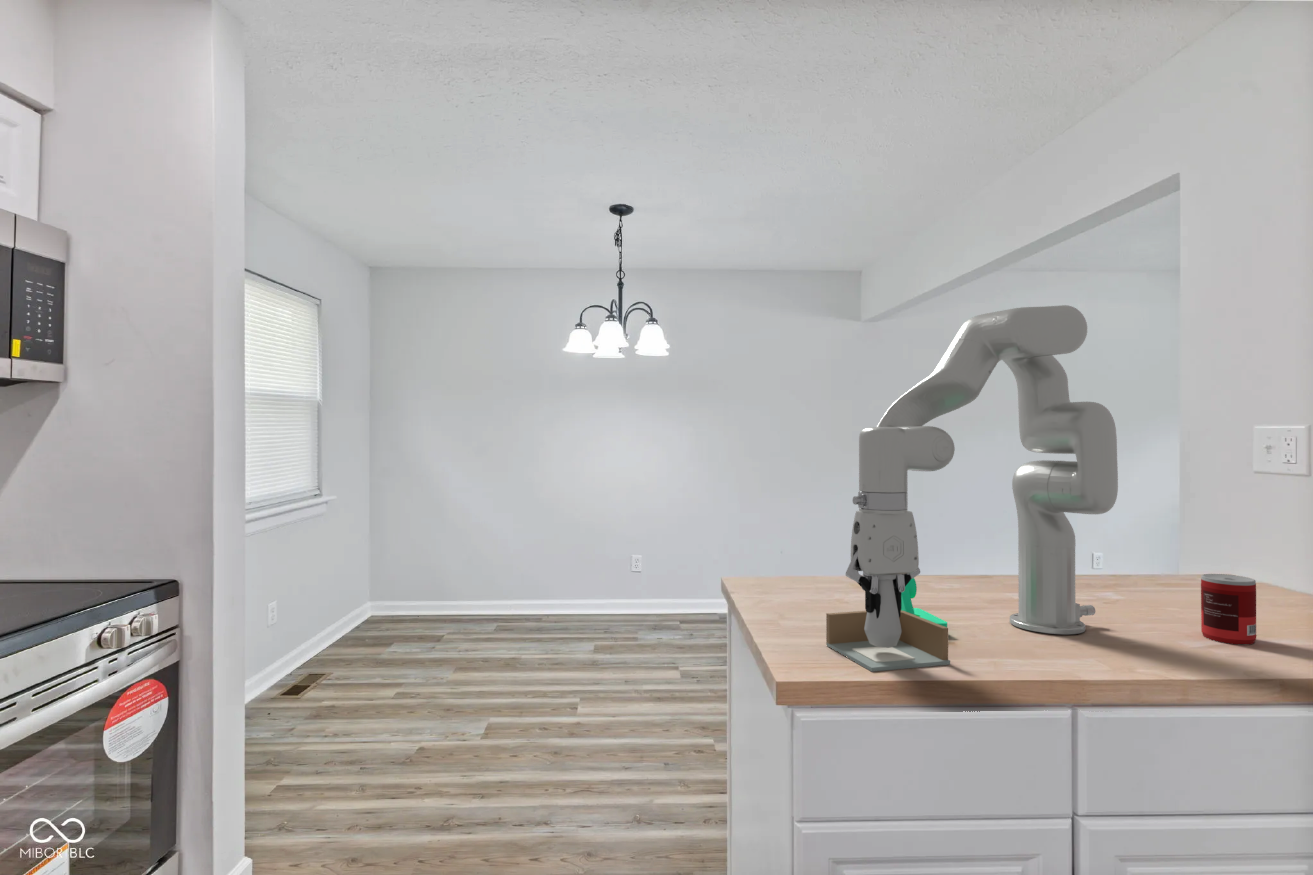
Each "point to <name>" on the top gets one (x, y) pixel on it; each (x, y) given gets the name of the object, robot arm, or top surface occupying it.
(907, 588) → the camera mount
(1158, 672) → the top surface
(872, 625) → the salt shaker
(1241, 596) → the canned food
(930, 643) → the grey and wooden tray
